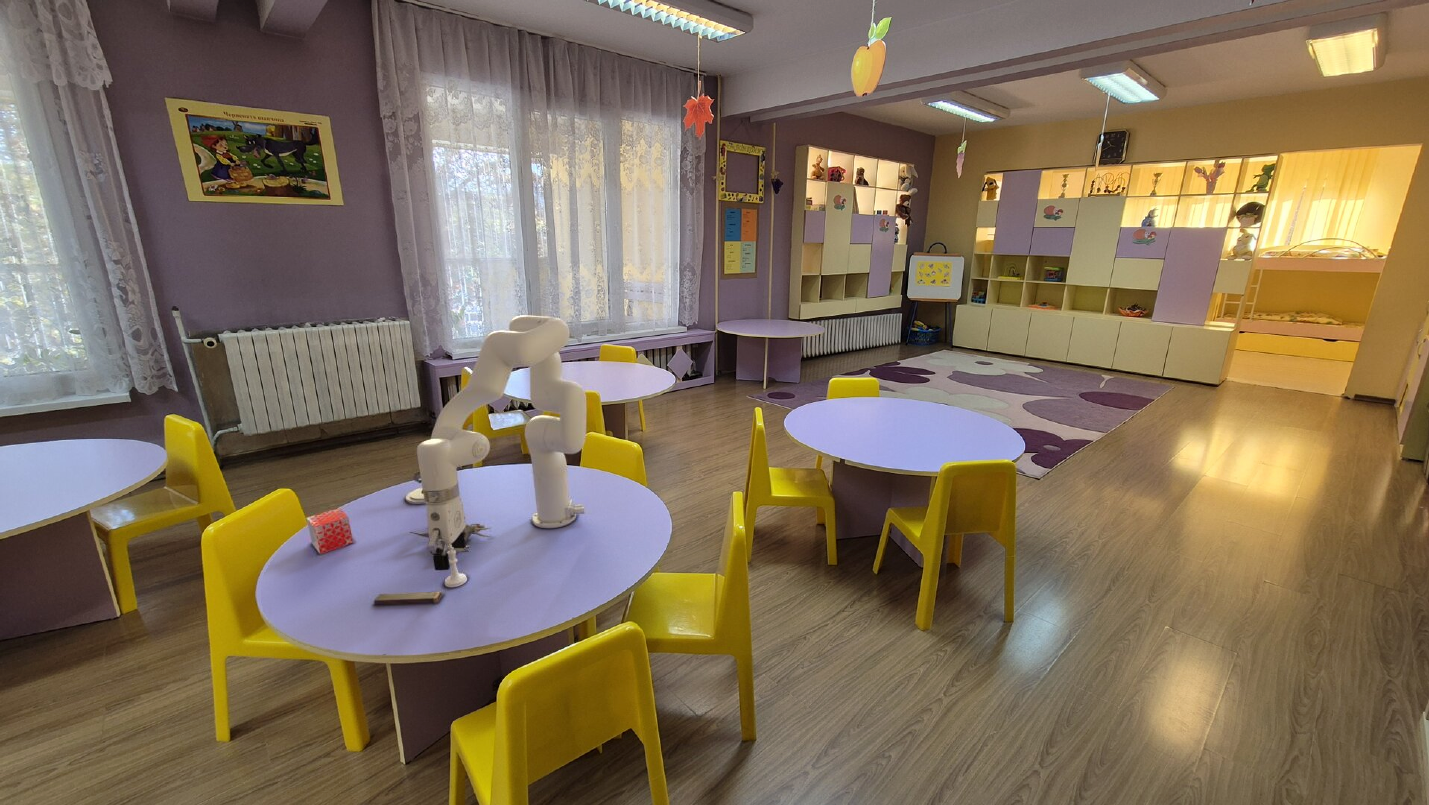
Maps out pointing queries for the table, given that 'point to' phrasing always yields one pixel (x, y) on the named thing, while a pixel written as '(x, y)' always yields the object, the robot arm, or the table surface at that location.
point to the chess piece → (454, 571)
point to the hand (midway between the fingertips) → (451, 558)
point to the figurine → (467, 533)
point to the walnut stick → (408, 598)
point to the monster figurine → (416, 493)
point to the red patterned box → (330, 530)
